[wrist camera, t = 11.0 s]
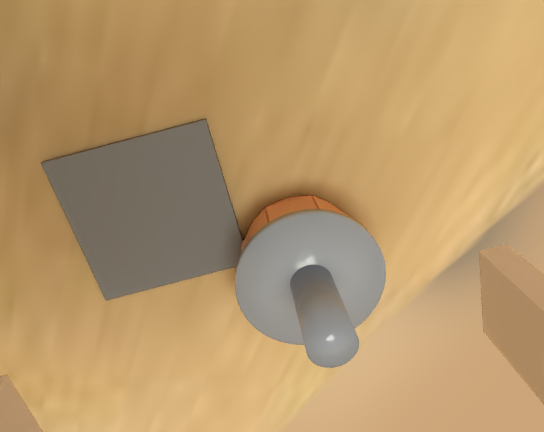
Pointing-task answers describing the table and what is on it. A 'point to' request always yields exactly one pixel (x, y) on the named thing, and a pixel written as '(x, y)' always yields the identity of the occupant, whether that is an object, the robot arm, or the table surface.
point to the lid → (311, 282)
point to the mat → (149, 209)
